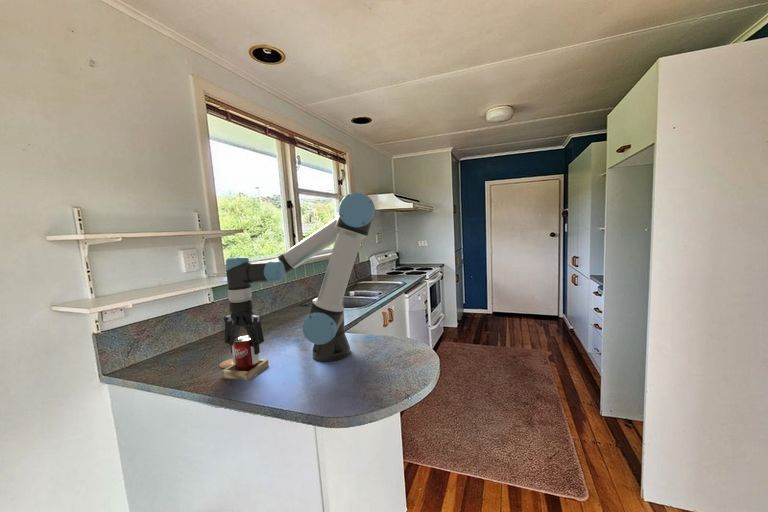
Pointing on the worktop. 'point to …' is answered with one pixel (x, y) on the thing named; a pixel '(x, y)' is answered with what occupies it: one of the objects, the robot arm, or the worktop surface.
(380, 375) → the worktop surface
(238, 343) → the soda can
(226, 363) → the coaster
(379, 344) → the worktop surface
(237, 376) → the frame
